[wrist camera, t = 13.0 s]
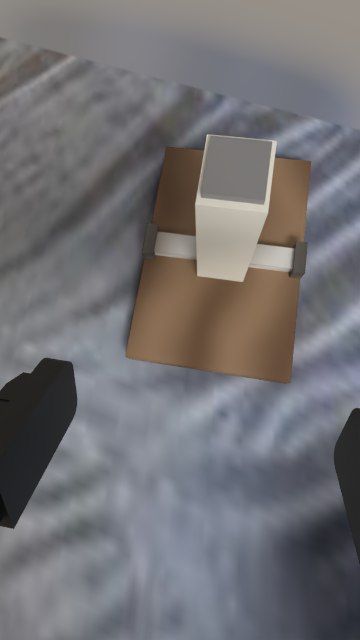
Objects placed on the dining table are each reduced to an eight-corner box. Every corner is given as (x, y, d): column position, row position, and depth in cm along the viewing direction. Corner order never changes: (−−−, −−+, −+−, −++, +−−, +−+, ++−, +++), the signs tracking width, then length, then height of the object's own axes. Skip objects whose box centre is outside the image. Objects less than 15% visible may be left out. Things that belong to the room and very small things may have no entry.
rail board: (129, 358, 27) (121, 354, 24) (168, 158, 31) (165, 136, 28) (285, 383, 26) (295, 381, 23) (305, 172, 29) (315, 150, 27)
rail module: (197, 275, 26) (195, 199, 16) (205, 225, 27) (208, 124, 17) (242, 282, 26) (269, 208, 16) (249, 231, 27) (279, 130, 17)
